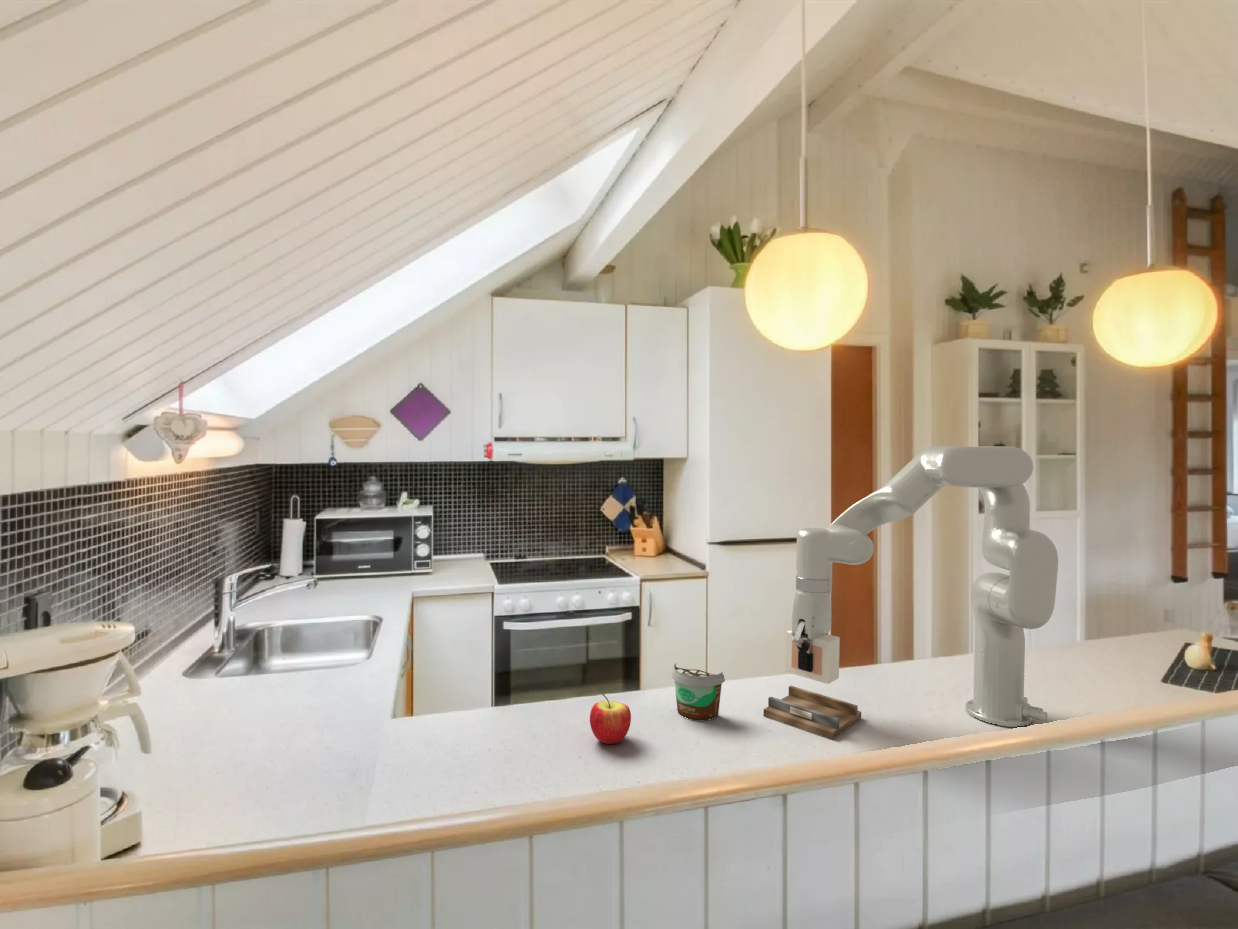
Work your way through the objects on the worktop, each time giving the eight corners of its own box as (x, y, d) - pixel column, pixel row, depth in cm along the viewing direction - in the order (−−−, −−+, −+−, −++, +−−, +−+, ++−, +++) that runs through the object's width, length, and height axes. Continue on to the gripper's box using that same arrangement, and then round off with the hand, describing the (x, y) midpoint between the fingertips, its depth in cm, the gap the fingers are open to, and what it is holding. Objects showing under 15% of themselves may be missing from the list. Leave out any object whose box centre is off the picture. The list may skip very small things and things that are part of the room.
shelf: (861, 718, 137) (861, 702, 137) (832, 740, 127) (832, 723, 127) (794, 697, 148) (795, 683, 148) (763, 716, 138) (763, 700, 138)
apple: (584, 735, 129) (584, 687, 128) (622, 728, 132) (622, 682, 131) (597, 753, 121) (597, 703, 121) (637, 746, 124) (637, 696, 124)
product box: (796, 666, 142) (797, 627, 142) (838, 678, 135) (839, 637, 135) (785, 672, 139) (786, 632, 138) (827, 684, 132) (828, 642, 131)
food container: (662, 716, 138) (662, 671, 138) (673, 705, 143) (673, 662, 143) (715, 727, 132) (715, 681, 132) (724, 716, 138) (725, 672, 137)
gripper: (816, 576, 145) (814, 653, 146) (778, 588, 133) (776, 672, 134) (847, 581, 140) (845, 661, 141) (810, 594, 128) (809, 681, 128)
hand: (811, 665), depth 137 cm, fingers closed on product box, 5 cm apart
